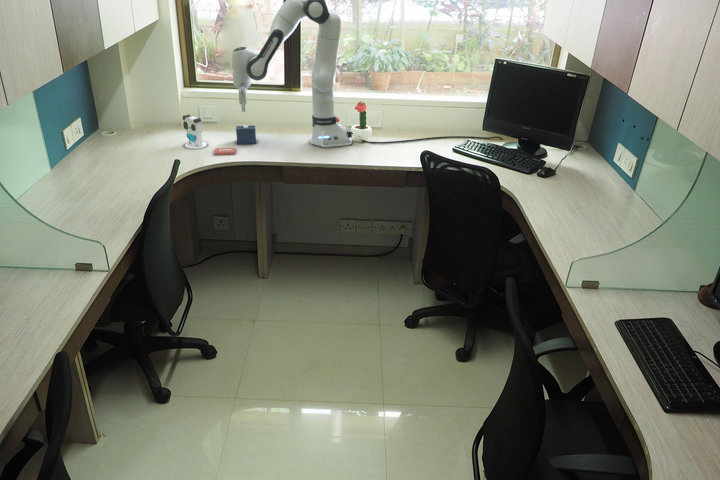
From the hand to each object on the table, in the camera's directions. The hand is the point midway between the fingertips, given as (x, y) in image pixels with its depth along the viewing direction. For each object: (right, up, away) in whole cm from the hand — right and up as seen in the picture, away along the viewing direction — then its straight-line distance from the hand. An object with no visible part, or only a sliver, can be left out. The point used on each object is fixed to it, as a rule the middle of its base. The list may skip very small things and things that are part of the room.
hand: (243, 108), depth 320 cm
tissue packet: (-9, -24, -4) cm, 26 cm away
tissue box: (0, -15, +10) cm, 18 cm away
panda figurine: (-26, -18, +5) cm, 32 cm away
